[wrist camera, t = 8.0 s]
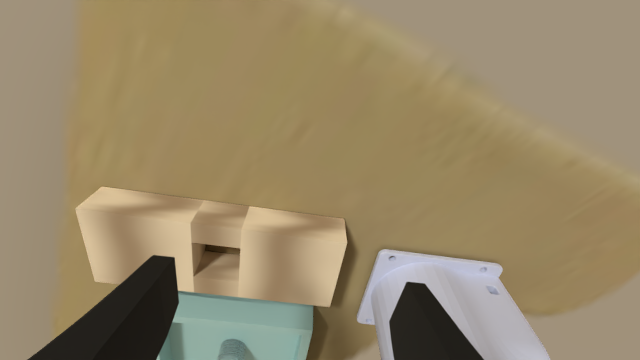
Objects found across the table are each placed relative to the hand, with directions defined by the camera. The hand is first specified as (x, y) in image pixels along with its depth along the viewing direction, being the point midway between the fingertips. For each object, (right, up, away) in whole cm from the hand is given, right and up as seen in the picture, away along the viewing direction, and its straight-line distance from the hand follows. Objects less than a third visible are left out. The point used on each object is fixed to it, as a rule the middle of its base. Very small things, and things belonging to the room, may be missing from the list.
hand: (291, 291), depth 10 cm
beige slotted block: (-6, -1, +12) cm, 14 cm away
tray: (-7, -11, +18) cm, 22 cm away
